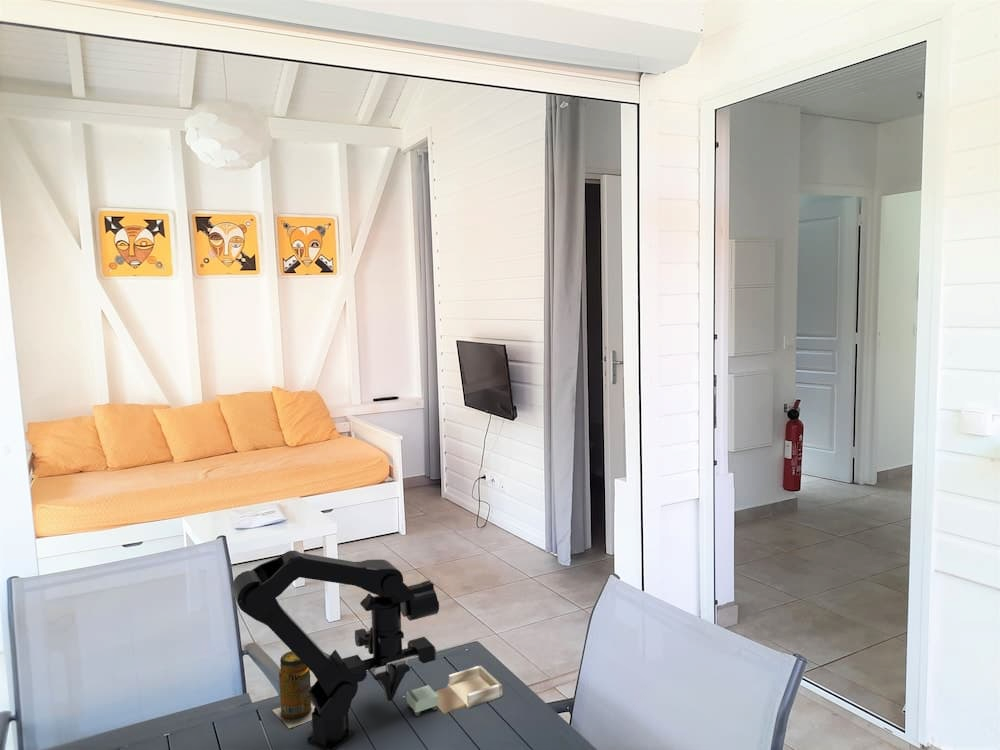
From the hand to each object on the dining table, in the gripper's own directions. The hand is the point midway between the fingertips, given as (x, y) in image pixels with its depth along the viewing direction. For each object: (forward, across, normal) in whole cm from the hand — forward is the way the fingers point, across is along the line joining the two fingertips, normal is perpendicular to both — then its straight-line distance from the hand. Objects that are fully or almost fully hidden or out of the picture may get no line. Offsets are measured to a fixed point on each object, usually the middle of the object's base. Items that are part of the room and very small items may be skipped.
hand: (389, 700), depth 144 cm
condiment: (+4, +16, -12) cm, 20 cm away
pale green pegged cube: (+4, -7, 0) cm, 8 cm away
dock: (+4, -17, 0) cm, 17 cm away
